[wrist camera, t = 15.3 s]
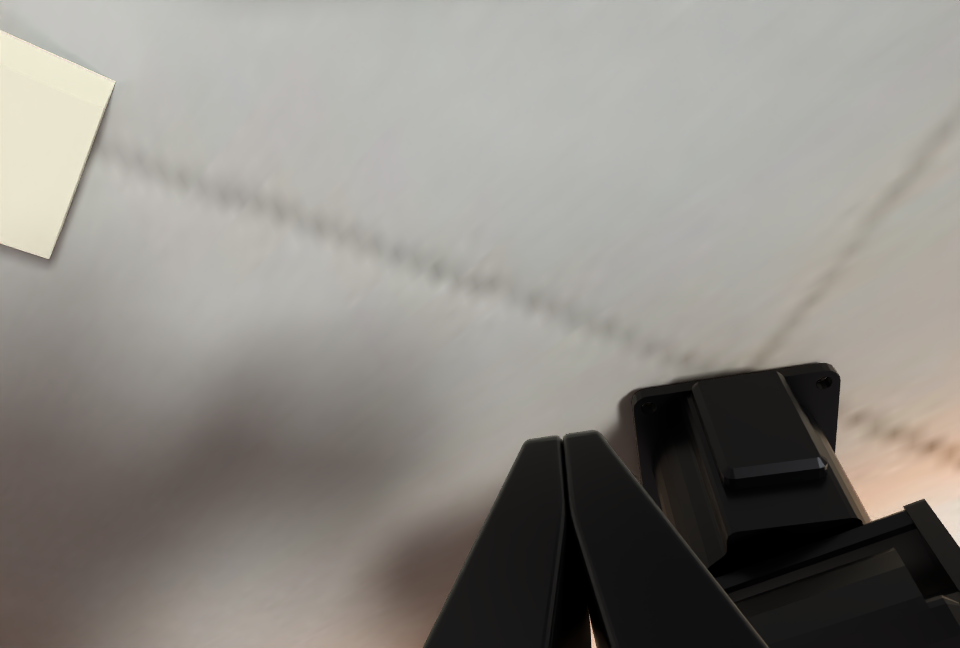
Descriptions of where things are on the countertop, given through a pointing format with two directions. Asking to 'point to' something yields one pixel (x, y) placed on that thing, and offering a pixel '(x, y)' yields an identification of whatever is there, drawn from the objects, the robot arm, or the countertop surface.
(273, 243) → the countertop surface
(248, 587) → the countertop surface
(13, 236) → the domino
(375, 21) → the countertop surface
